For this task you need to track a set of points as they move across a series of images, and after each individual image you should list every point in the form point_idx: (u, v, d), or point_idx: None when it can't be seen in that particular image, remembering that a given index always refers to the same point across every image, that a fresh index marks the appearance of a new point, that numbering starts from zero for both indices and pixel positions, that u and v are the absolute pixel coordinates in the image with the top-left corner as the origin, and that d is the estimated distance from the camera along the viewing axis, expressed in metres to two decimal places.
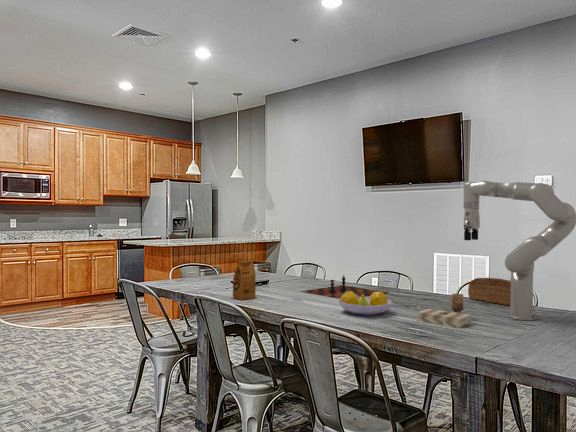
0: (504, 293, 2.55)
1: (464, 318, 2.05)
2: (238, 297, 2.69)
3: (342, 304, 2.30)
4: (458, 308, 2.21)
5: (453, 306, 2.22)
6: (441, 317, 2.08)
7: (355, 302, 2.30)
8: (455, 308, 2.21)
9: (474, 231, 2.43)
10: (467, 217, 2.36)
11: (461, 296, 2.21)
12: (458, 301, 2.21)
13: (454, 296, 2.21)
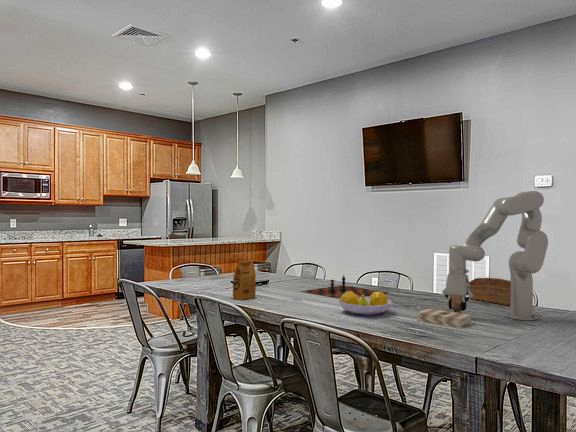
0: (504, 293, 2.55)
1: (464, 318, 2.05)
2: (238, 297, 2.69)
3: (342, 304, 2.30)
4: (458, 308, 2.21)
5: (452, 306, 2.22)
6: (441, 317, 2.08)
7: (355, 302, 2.30)
8: (455, 308, 2.21)
9: (451, 300, 2.25)
10: (467, 284, 2.20)
11: None
12: (458, 301, 2.21)
13: (454, 296, 2.21)
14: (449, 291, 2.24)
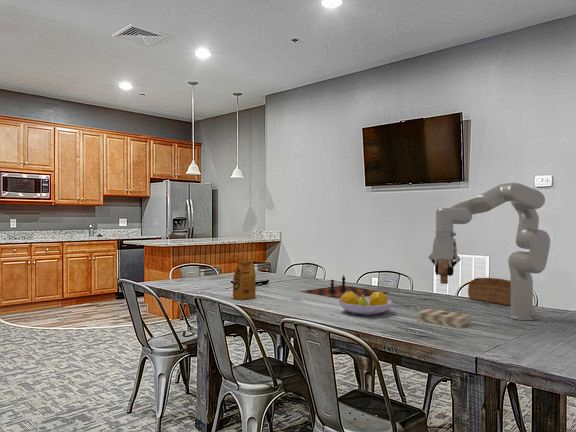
0: (504, 293, 2.55)
1: (464, 318, 2.05)
2: (238, 297, 2.69)
3: (342, 304, 2.30)
4: (445, 273, 2.11)
5: (439, 271, 2.12)
6: (441, 317, 2.08)
7: (355, 302, 2.30)
8: (442, 273, 2.11)
9: None
10: (454, 248, 2.10)
11: None
12: (445, 266, 2.11)
13: (441, 261, 2.12)
14: (436, 256, 2.14)
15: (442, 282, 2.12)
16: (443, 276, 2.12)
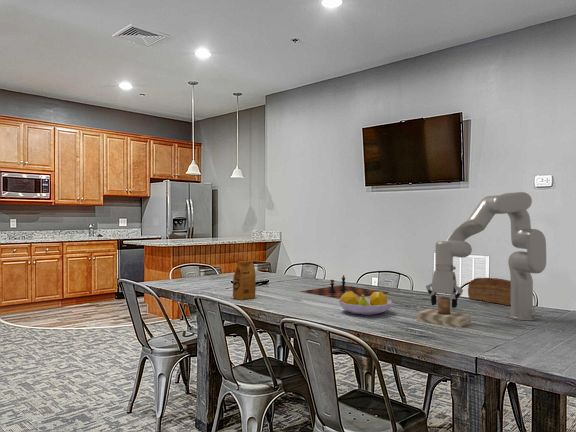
0: (504, 293, 2.56)
1: (464, 318, 2.05)
2: (238, 297, 2.69)
3: (342, 304, 2.30)
4: (445, 312, 2.10)
5: (439, 310, 2.12)
6: (441, 317, 2.08)
7: (355, 302, 2.30)
8: (441, 312, 2.11)
9: (434, 296, 2.16)
10: (454, 282, 2.10)
11: (448, 300, 2.11)
12: (445, 305, 2.10)
13: (440, 300, 2.11)
14: (435, 289, 2.14)
15: None
16: None
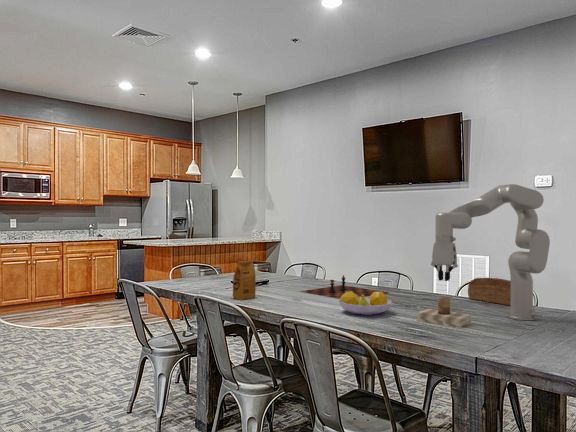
0: (504, 293, 2.56)
1: (464, 318, 2.05)
2: (238, 297, 2.69)
3: (342, 304, 2.30)
4: (445, 312, 2.10)
5: (439, 310, 2.12)
6: (441, 317, 2.08)
7: (355, 302, 2.30)
8: (441, 312, 2.11)
9: (441, 271, 2.14)
10: (454, 252, 2.10)
11: (448, 300, 2.11)
12: (445, 305, 2.10)
13: (440, 300, 2.11)
14: (435, 260, 2.14)
15: None
16: None
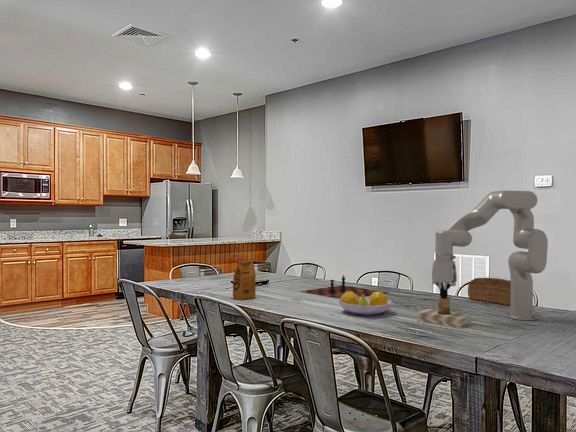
0: (504, 293, 2.56)
1: (464, 318, 2.05)
2: (238, 297, 2.69)
3: (342, 304, 2.30)
4: (445, 312, 2.10)
5: (439, 310, 2.12)
6: (441, 317, 2.08)
7: (355, 302, 2.30)
8: (441, 312, 2.11)
9: (442, 289, 2.13)
10: (454, 271, 2.10)
11: (448, 300, 2.11)
12: (445, 305, 2.10)
13: (440, 300, 2.11)
14: (435, 278, 2.14)
15: None
16: None
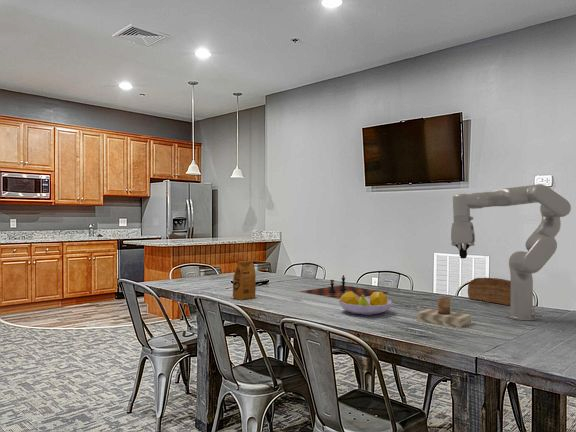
0: (504, 293, 2.56)
1: (464, 318, 2.05)
2: (238, 297, 2.69)
3: (342, 304, 2.30)
4: (445, 312, 2.10)
5: (439, 310, 2.12)
6: (441, 317, 2.08)
7: (355, 302, 2.30)
8: (441, 312, 2.11)
9: (462, 249, 2.24)
10: (472, 231, 2.21)
11: (448, 300, 2.11)
12: (445, 305, 2.10)
13: (440, 300, 2.11)
14: (454, 240, 2.24)
15: None
16: None
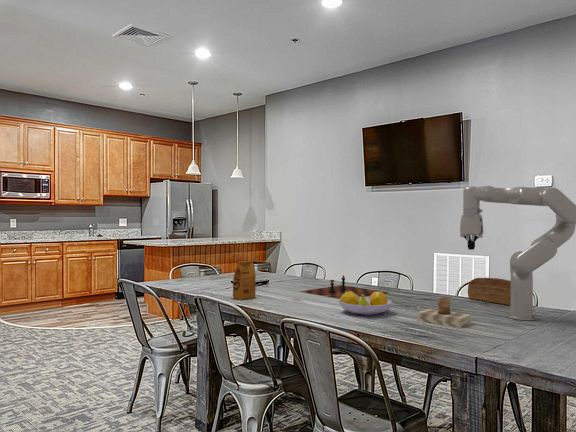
0: (504, 293, 2.56)
1: (464, 318, 2.05)
2: (238, 297, 2.69)
3: (342, 304, 2.30)
4: (445, 312, 2.10)
5: (439, 310, 2.12)
6: (441, 317, 2.08)
7: (355, 302, 2.30)
8: (441, 312, 2.11)
9: (470, 241, 2.30)
10: (481, 223, 2.26)
11: (448, 300, 2.11)
12: (445, 305, 2.10)
13: (440, 300, 2.11)
14: (463, 231, 2.30)
15: None
16: None
